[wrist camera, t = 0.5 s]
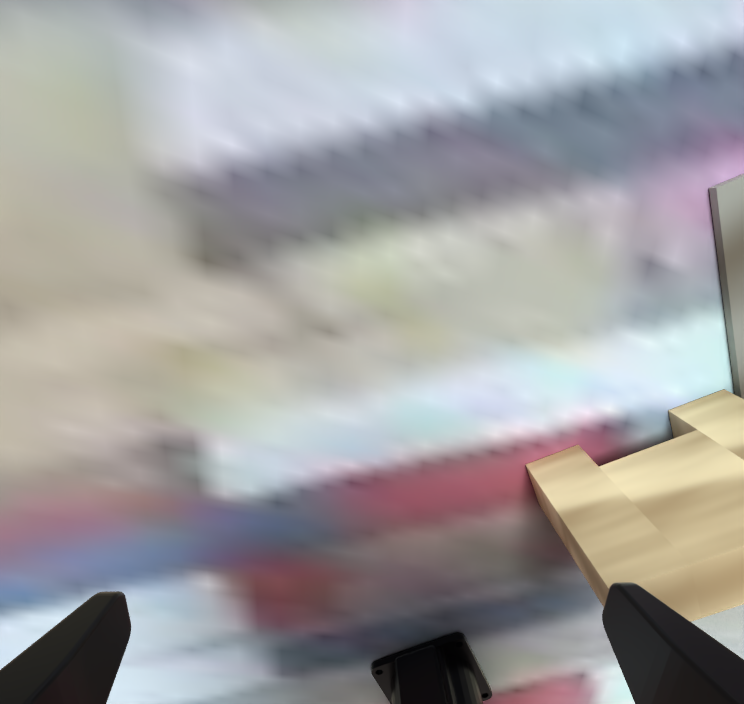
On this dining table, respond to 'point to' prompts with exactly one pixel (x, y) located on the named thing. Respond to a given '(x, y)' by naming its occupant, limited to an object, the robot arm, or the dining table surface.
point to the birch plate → (659, 510)
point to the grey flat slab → (731, 267)
